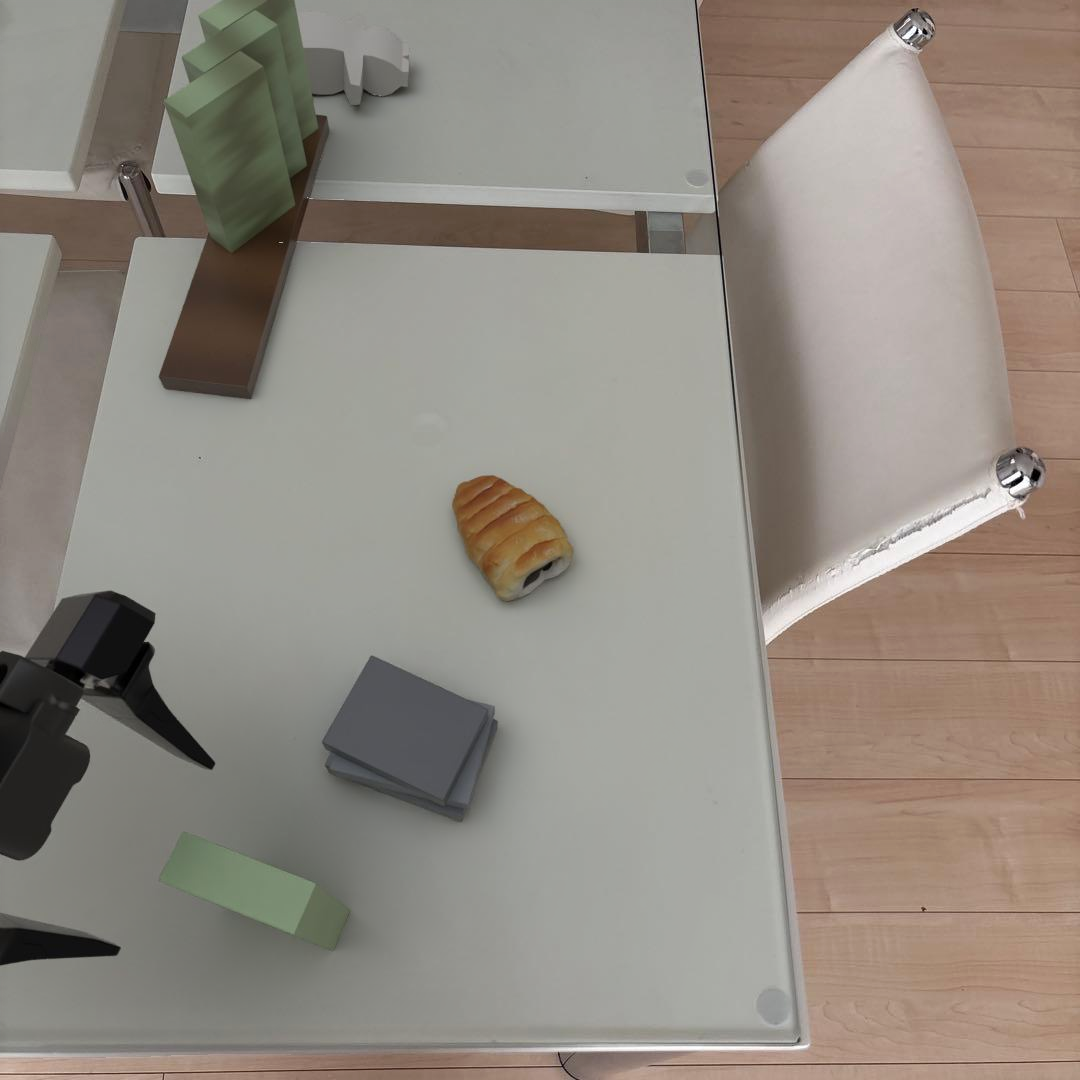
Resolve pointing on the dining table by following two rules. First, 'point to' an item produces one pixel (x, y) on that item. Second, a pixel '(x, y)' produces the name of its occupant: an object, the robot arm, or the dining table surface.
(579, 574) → the dining table surface
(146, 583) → the dining table surface
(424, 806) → the grey books
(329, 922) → the green book
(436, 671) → the dining table surface
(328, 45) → the white curved block
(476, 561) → the pastry
